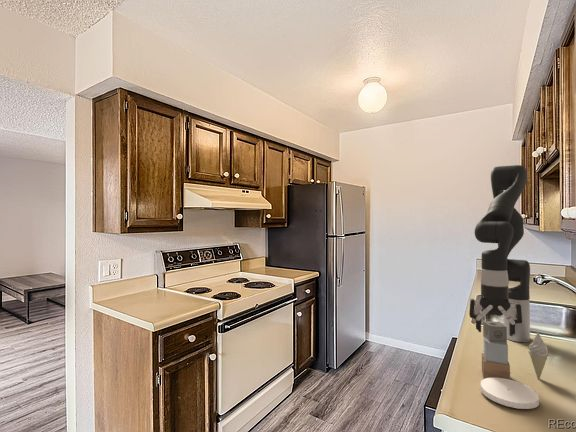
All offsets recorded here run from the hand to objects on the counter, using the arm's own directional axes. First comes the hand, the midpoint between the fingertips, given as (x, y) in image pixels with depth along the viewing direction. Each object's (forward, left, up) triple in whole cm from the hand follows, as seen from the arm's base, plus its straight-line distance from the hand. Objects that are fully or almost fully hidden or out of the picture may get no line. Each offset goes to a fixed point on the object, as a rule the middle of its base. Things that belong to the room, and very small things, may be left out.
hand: (494, 333), depth 105 cm
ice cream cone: (-4, +12, -14) cm, 19 cm away
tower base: (0, 0, -14) cm, 14 cm away
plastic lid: (+12, +2, -15) cm, 19 cm away
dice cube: (-1, 0, -3) cm, 3 cm away
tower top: (0, 0, -8) cm, 8 cm away
